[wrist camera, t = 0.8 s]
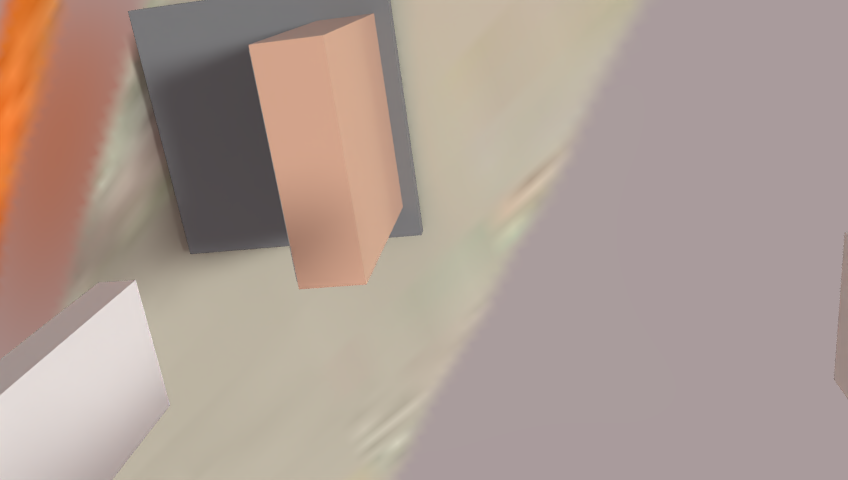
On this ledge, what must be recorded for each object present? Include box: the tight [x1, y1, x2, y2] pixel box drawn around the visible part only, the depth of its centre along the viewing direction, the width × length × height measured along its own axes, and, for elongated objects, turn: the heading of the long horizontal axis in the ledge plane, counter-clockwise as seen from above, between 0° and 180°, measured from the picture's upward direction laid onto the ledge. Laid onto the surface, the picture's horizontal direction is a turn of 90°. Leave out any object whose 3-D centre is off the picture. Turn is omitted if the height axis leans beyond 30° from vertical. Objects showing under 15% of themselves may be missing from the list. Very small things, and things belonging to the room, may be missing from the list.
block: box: [249, 13, 403, 289], centre depth 31 cm, size 3×9×9 cm, turn 8°
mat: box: [128, 0, 423, 254], centre depth 36 cm, size 12×12×1 cm
